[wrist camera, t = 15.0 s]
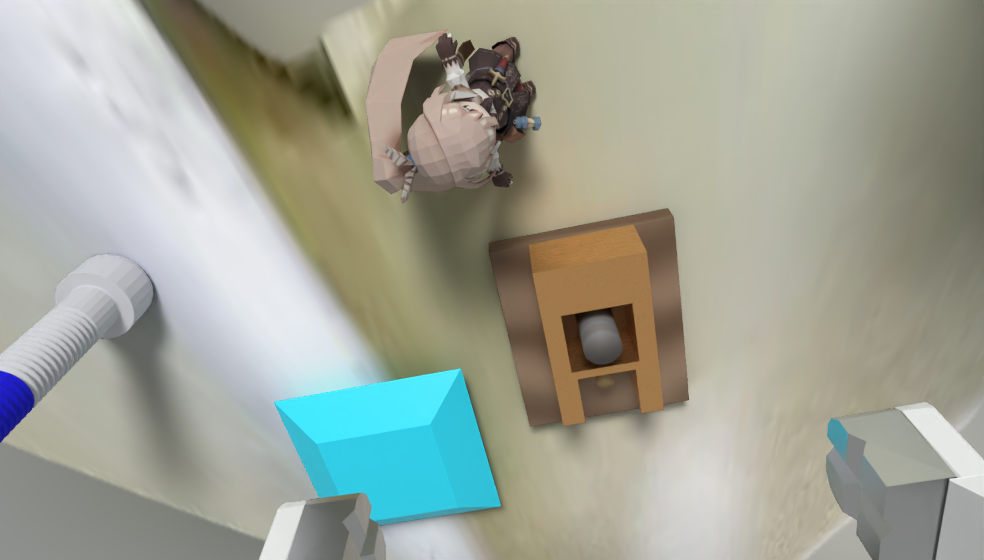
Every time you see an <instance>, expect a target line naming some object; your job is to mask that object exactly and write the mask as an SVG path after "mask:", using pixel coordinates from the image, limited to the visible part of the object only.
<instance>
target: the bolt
mask: <svg viewBox="0 0 984 560" xmlns="http://www.w3.org/2000/svg"><path fill="white" fill-rule="evenodd" d="M152 299H153V287H152V284H151V281H150V279H149V277H148V276H147V274H146V273H145V272H144V271H143V269H142V268H141V267H139V266H138V265H137V264H136V263H134V262H133V261H131V260H129V259H127V258H125V257H122V256H119V255H114V254H101V255H95V256H93V257H91V258H89V259H87V260H86V261H85V262H84V263H82V264H81V265H80V266H79V267H78V268H76V269H75V270H74V271H73V272H71V273H70V274H69V275H68V276H67V277H65V278H64V279H62V280H61V281H60V282H59V284H58V285H57V287H56V289H55V294H54V301H55V305H56V307H55V308H53V309H52V310H51V311H50V312H49V313H48V314H47V315H45V316H44V317H43V318H42V319H41V320H40V321H39V322H37V323H36V324H35V325H34V326H33V327H32V328H30V329H29V330H28V331H27V332H26V333H25V334H24V335H22V336H21V337H20V338H19V339H18V340H17V341H15V342H14V343H13V344H12V345H11V346H10V347H9V348H8V349H6V350H5V351H4V352H3V353H2V354H0V442H2V441H3V439H4V438H5V437H6V436H7V435H8V434H9V433H10V431H12V430H13V429H14V428H15V426H16V425H17V424H19V423H20V421H21V420H22V419H23V418H24V417H25V416H26V415H27V414H28V413H29V412H30V411H31V410H32V408H34V407H35V406H36V405H37V403H38V402H39V401H41V400H42V398H43V397H44V396H45V395H46V394H47V393H48V392H49V391H50V390H51V389H52V388H53V387H54V386H55V385H56V384H57V382H58V381H60V380H61V378H62V377H63V376H64V375H65V374H66V373H67V372H68V371H69V370H70V369H71V368H72V367H73V366H74V365H75V364H76V363H77V362H78V361H79V359H80V358H81V357H83V355H84V354H85V353H86V352H87V351H88V350H89V349H90V348H91V347H92V346H93V345H94V344H95V343H96V342H97V341H98V340H99V339H111V338H116V337H119V336H121V335H123V334H125V333H126V332H127V331H128V330H129V329H130V328H131V327H132V326H133V325H134V324H135V322H136V321H137V320H138V319H139V318H140V317H141V316H142V315H143V314H144V312H145V311H146V310H147V309H148V308H149V306H150V305H151V303H152Z"/></svg>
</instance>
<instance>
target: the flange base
mask: <svg viewBox="0 0 984 560" xmlns="http://www.w3.org/2000/svg"><path fill="white" fill-rule="evenodd" d="M629 225H634V227H635V229H636V231H637V233H638V235H639V237H640V239H641V241H642V243H643V245H644V247H645V249H646V251H647V258H648V267H649V276H650V286H651V295H652V304H653V313H654V323H655V332H656V341H657V351H658V360H659V369H660V379H661V388H662V397H663V404H669V403H675V402H681V401H687V400H689V394H688V382H687V370H686V358H685V346H684V334H683V322H682V310H681V298H680V286H679V274H678V262H677V250H676V238H675V226H674V217H673V215H672V214H671V212H670V211H669V209H668V208H667V209H662V210H657V211H652V212H647V213H641V214H636V215H631V216H626V217H621V218H615V219H610V220H605V221H600V222H595V223H590V224H584V225H579V226H574V227H569V228H564V229H558V230H553V231H548V232H543V233H538V234H533V235H527V236H522V237H517V238H512V239H507V240H502V241H496V242H491V243H489V255H490V259H491V263H492V267H493V272H494V276H495V280H496V284H497V289H498V293H499V297H500V301H501V305H502V310H503V314H504V318H505V322H506V327H507V331H508V335H509V339H510V343H511V348H512V352H513V356H514V360H515V365H516V369H517V373H518V377H519V381H520V386H521V390H522V394H523V398H524V403H525V407H526V411H527V415H528V420H529V424H530V426H535V425H541V424H547V423H553V422H559V421H562V416H561V411H560V406H559V401H558V397H557V392H556V387H555V382H554V377H553V372H552V367H551V362H550V357H549V353H548V348H547V343H546V338H545V333H544V328H543V323H542V318H541V313H540V309H539V304H538V299H537V294H536V289H535V284H534V279H533V274H532V267H531V259H530V251H529V244H535V243H540V242H545V241H550V240H555V239H561V238H566V237H571V236H576V235H582V234H587V233H592V232H597V231H602V230H608V229H613V228H618V227H623V226H629ZM561 319H562V324H563V330H564V335H565V339H566V338H571V337H577V336H580V338H581V342H582V347H583V351H584V355H585V357H586V358H587V359H588V360H589V361H590V362H592V363H595V364H600V365H603V364H608V363H611V362H613V361H615V360H616V359H617V358H618V357H619V356H620V354H621V352H622V348H623V346H622V342H621V339H620V336H619V332H618V329H622V328H628V326H627V318H626V311H625V305H620V306H614V307H609V308H603V309H598V310H592V311H587V312H581V313H576V314H570V315H564V316H561ZM578 385H579V390H580V396H581V401H582V407H583V412H584V417H590V416H596V415H602V414H608V413H614V412H620V411H626V410H632V409H638V408H640V407H639V404H638V401H637V398H636V394H635V391H634V388H633V385H632V382H631V379H630V373H629V371H624V372H618V373H612V374H606V375H600V376H594V377H588V378H583V379H578Z"/></svg>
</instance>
